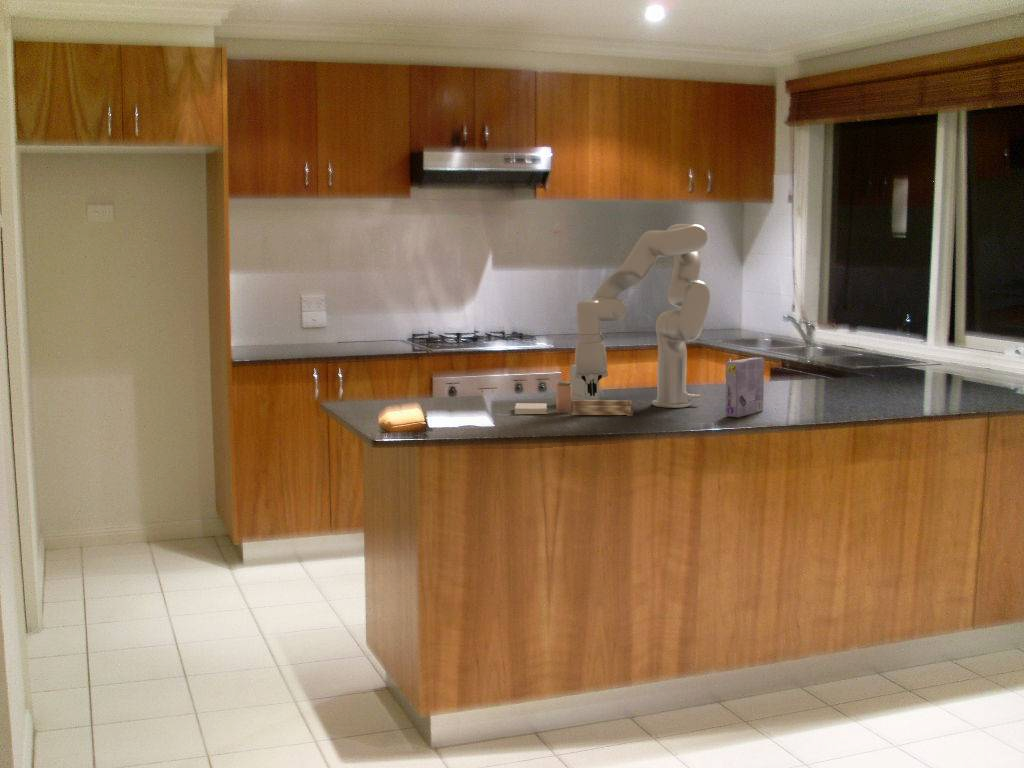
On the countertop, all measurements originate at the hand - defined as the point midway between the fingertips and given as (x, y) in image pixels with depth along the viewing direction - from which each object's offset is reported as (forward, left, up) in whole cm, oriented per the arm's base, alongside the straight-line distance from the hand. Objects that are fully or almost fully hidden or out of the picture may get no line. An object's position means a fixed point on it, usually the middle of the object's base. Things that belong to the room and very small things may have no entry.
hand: (592, 395), depth 353 cm
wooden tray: (-3, +1, -6) cm, 6 cm away
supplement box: (+2, -19, -6) cm, 20 cm away
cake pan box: (-49, +1, -6) cm, 49 cm away
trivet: (+20, +1, -6) cm, 21 cm away
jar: (+9, +1, -6) cm, 11 cm away
